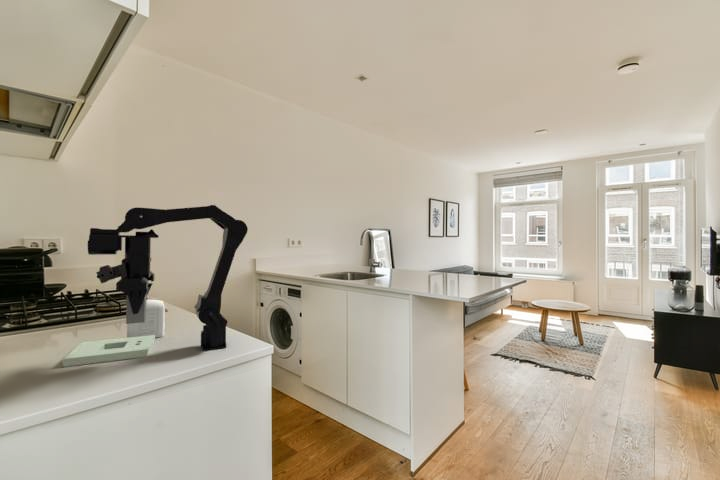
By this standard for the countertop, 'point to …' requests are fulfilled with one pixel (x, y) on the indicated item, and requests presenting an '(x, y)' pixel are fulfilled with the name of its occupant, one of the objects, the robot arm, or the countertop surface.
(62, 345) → the countertop surface
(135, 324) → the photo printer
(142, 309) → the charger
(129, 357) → the outlet plate
